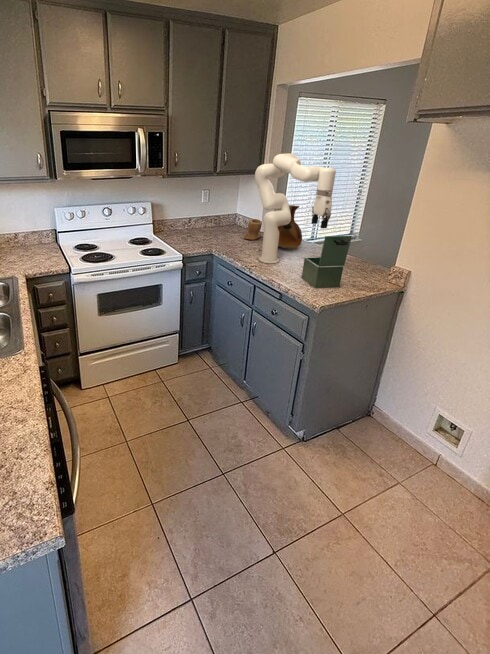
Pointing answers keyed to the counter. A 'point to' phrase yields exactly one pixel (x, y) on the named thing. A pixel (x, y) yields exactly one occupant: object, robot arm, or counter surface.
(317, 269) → the green open box
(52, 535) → the counter surface
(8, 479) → the counter surface
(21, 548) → the counter surface
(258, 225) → the stone cup
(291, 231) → the ceramic pitcher
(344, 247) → the hinged box lid
